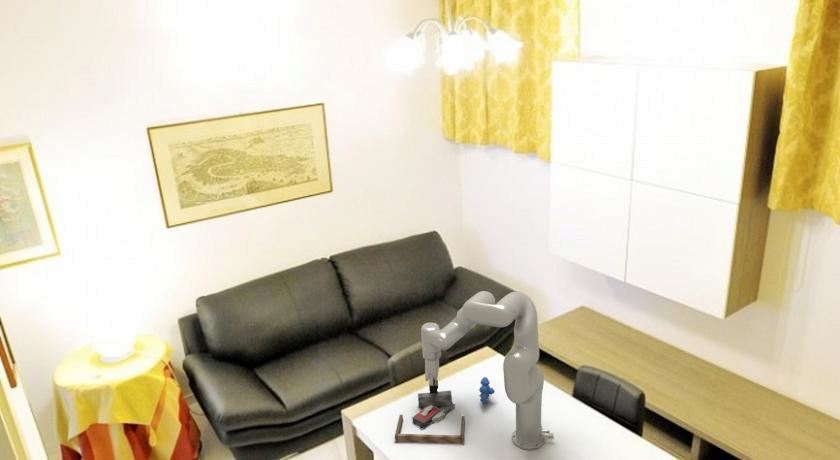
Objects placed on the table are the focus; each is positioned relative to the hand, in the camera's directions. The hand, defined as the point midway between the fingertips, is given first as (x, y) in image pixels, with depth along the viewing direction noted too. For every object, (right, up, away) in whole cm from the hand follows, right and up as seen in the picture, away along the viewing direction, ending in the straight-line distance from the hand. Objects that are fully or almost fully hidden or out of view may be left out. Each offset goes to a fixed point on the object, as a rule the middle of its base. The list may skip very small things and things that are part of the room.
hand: (433, 390), depth 256 cm
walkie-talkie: (0, -10, -4) cm, 11 cm away
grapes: (+23, -6, +2) cm, 23 cm away
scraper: (+1, -6, +2) cm, 7 cm away
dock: (-1, -13, -13) cm, 18 cm away
